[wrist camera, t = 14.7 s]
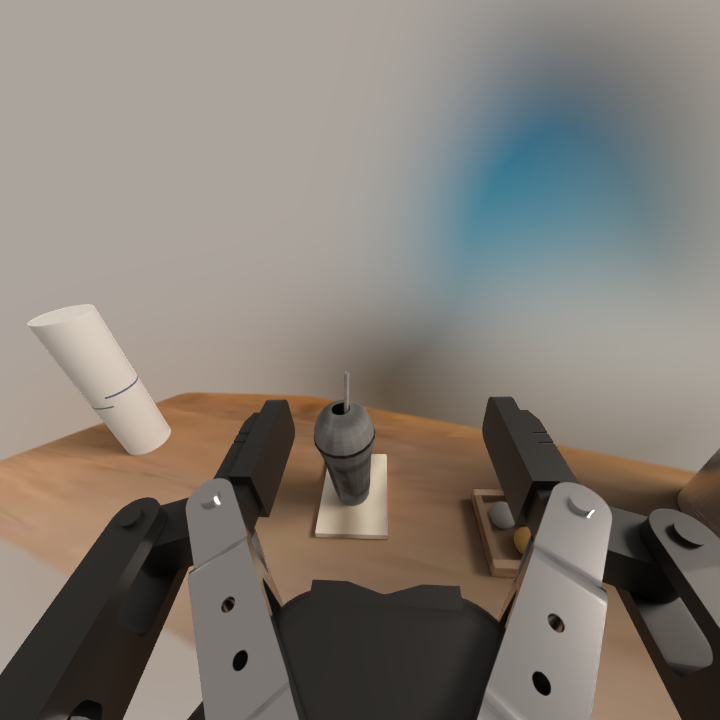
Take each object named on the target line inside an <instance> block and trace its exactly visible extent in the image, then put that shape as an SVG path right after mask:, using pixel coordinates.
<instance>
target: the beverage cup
mask: <svg viewBox="0 0 720 720" xmlns="http://www.w3.org/2000/svg"><path fill="white" fill-rule="evenodd" d="M314 432H315V433H314V442H315V445H316V447H317V449H318V450H319V451H320V453H321V455H322V457H323V458H324V461H325V464H326V466H327V469H328V472H329V475H330V477H331V480H332V483H333V486H334V488H335V491H336V493H337V495H338V497H339V499H340V501H341V502H342V503H344V504H346V505H348V506H356V505H359V504H361V503H363V502H364V501H365V500H366V499H367V497H368V495H369V488H370V473H371V450H372V447H373V440H374V438H375V429H374V426H373V423H372V420H371V418H370V415H369V414H368V412H367V411H366V410H365V409H364V408H363V407H362V406H361V405H359V404H357V403H355V402H353V401H349V372H348V371H345V372H344V400H339V401H335V402H333V403H330V404H329V405H327V406H326V407H325V408H324V409H323V410H322V411H321V413H320V414H319V416H318V417H317V421H316V424H315V428H314Z"/></svg>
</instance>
